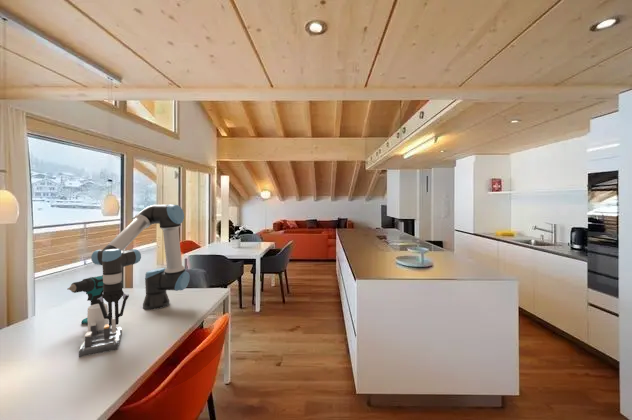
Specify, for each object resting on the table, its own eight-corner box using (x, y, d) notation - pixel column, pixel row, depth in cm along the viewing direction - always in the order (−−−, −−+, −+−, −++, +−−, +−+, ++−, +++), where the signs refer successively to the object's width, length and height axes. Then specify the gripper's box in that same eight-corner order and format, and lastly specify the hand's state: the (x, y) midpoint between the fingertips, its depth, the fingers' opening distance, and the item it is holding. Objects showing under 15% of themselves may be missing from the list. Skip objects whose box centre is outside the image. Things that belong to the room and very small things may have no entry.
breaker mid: (110, 334, 146) (110, 323, 146) (109, 338, 143) (109, 326, 142) (105, 335, 145) (105, 324, 145) (104, 339, 142) (103, 327, 142)
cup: (112, 331, 157) (111, 303, 156) (96, 338, 149) (95, 309, 149) (100, 329, 160) (99, 302, 159) (83, 336, 152) (83, 307, 151)
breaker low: (97, 332, 149) (97, 321, 149) (96, 335, 146) (95, 324, 145) (92, 333, 148) (92, 322, 148) (90, 336, 145) (90, 325, 144)
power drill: (76, 333, 155) (74, 284, 154) (61, 331, 157) (60, 283, 156) (119, 314, 181) (117, 272, 180) (106, 313, 183) (104, 271, 182)
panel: (122, 332, 155) (121, 326, 155) (117, 349, 137) (117, 342, 137) (88, 338, 149) (87, 331, 149) (78, 357, 131) (78, 349, 131)
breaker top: (92, 343, 138) (92, 331, 137) (90, 347, 134) (90, 334, 134) (87, 344, 137) (86, 332, 137) (85, 348, 133) (84, 335, 133)
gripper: (129, 278, 151) (130, 326, 151) (97, 282, 145) (98, 331, 145) (128, 282, 144) (129, 331, 145) (94, 286, 138) (96, 337, 139)
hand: (114, 331), depth 145 cm, fingers closed
